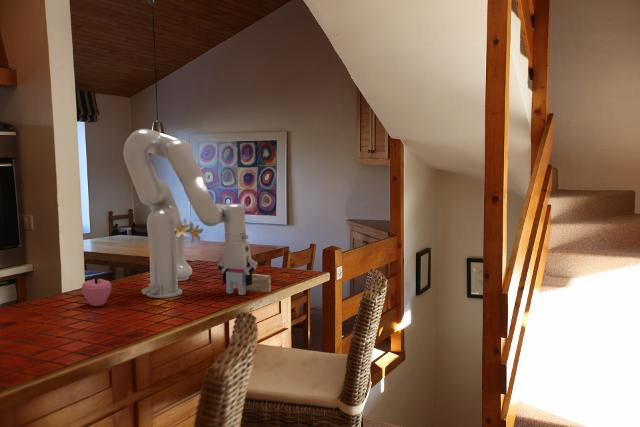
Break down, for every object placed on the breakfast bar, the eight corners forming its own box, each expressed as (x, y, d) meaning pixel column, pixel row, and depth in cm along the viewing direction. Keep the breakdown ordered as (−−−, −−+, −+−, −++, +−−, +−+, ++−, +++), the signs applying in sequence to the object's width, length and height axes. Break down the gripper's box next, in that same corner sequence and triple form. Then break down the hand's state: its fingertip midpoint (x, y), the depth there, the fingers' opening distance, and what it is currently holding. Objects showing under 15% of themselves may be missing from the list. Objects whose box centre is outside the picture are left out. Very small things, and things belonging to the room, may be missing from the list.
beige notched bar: (268, 292, 215) (267, 276, 215) (227, 288, 223) (226, 272, 223) (270, 291, 217) (270, 275, 216) (230, 287, 225) (229, 271, 224)
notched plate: (242, 294, 212) (242, 273, 211) (226, 293, 215) (225, 271, 214) (245, 293, 214) (245, 272, 213) (229, 292, 217) (229, 270, 216)
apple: (117, 304, 199) (116, 275, 198) (96, 310, 192) (94, 280, 191) (98, 301, 204) (97, 272, 203) (77, 306, 197) (75, 277, 196)
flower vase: (194, 284, 231) (192, 220, 228) (154, 281, 237) (152, 219, 234) (210, 277, 243) (209, 217, 241) (172, 275, 249) (170, 216, 246)
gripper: (261, 237, 212) (263, 283, 214) (221, 235, 219) (223, 280, 221) (250, 240, 205) (252, 288, 207) (209, 238, 213) (212, 284, 214)
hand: (237, 284), depth 214 cm, fingers open, 9 cm apart
